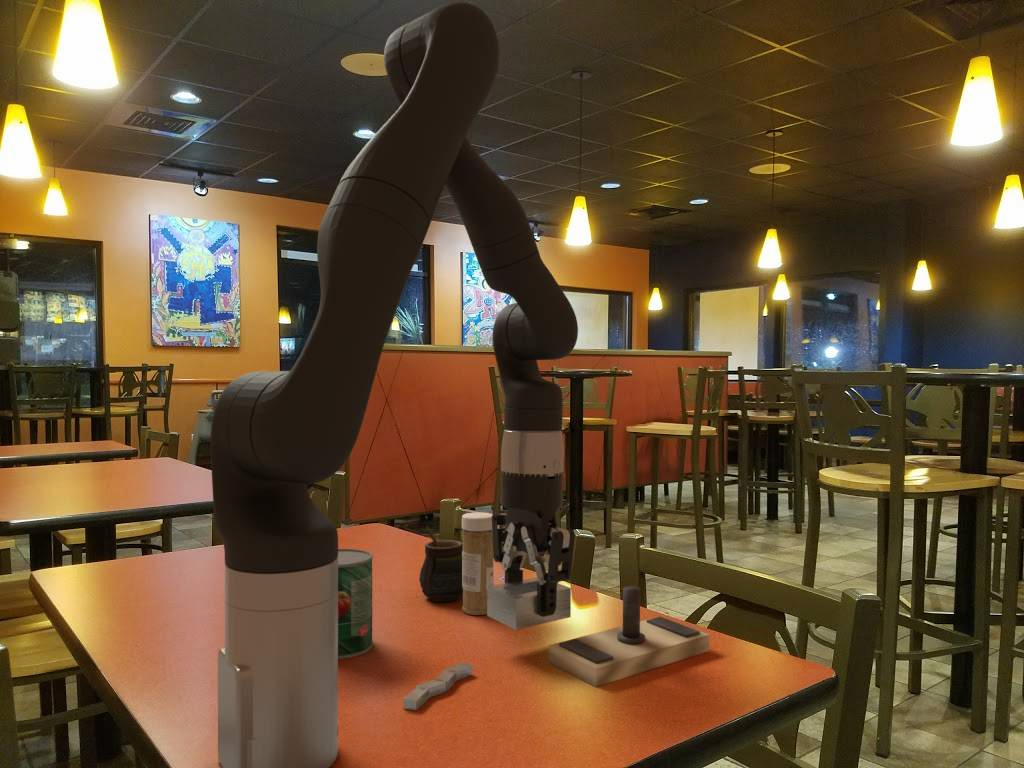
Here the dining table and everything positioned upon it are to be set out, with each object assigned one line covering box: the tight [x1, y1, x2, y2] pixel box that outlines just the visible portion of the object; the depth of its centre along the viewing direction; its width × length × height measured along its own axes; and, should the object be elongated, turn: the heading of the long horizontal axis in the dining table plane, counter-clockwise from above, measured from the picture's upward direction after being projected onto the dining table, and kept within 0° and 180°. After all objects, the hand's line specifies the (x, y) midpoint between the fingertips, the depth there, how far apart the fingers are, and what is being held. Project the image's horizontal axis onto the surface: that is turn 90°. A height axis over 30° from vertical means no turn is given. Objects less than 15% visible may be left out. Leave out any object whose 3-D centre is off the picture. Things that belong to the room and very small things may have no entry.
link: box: [486, 576, 572, 631], centre depth 90 cm, size 8×6×4 cm
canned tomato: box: [338, 548, 374, 660], centre depth 90 cm, size 8×8×11 cm
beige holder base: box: [548, 585, 710, 688], centre depth 87 cm, size 18×8×8 cm, turn 125°
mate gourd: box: [418, 526, 463, 603], centre depth 109 cm, size 7×8×10 cm
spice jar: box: [461, 511, 495, 616], centre depth 103 cm, size 5×5×13 cm
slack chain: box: [402, 661, 473, 711], centre depth 78 cm, size 11×2×1 cm, turn 149°
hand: (529, 607), depth 90 cm, fingers closed on link, 6 cm apart
